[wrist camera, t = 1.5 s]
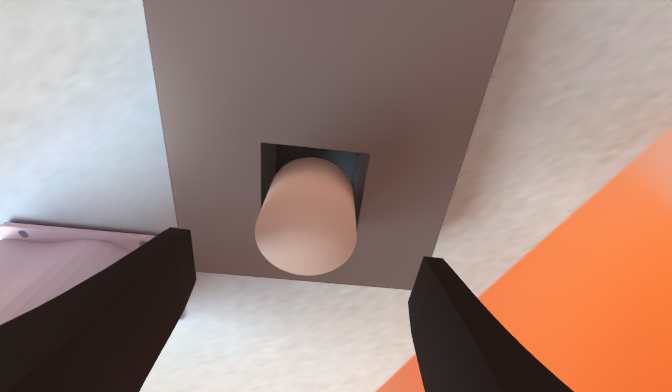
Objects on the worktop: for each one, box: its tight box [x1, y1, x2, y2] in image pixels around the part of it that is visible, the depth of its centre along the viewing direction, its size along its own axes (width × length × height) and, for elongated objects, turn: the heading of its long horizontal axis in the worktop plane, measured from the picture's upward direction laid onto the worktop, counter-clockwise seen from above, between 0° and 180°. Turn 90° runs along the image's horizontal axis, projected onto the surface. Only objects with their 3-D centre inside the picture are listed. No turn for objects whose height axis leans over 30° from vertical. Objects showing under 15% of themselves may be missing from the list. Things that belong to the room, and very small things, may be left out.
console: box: [143, 0, 515, 290], centre depth 13 cm, size 12×20×4 cm, turn 174°
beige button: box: [255, 157, 357, 276], centre depth 13 cm, size 4×4×3 cm
